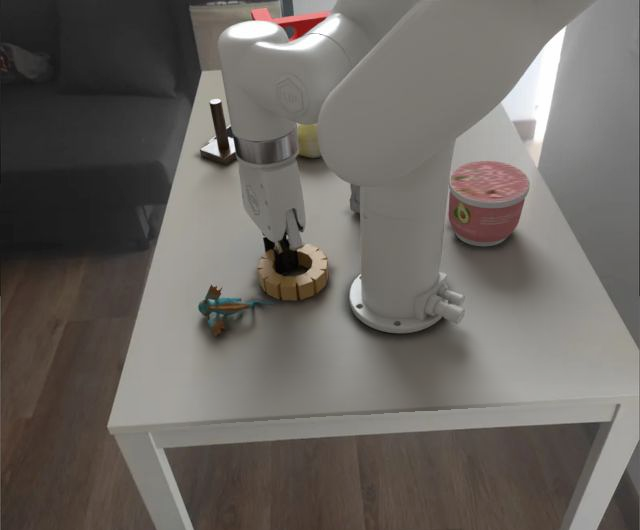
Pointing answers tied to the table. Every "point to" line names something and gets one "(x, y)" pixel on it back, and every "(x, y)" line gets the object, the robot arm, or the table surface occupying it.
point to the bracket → (292, 20)
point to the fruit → (308, 141)
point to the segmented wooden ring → (300, 284)
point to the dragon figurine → (221, 308)
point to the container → (486, 201)
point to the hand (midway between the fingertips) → (282, 263)
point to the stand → (219, 137)
